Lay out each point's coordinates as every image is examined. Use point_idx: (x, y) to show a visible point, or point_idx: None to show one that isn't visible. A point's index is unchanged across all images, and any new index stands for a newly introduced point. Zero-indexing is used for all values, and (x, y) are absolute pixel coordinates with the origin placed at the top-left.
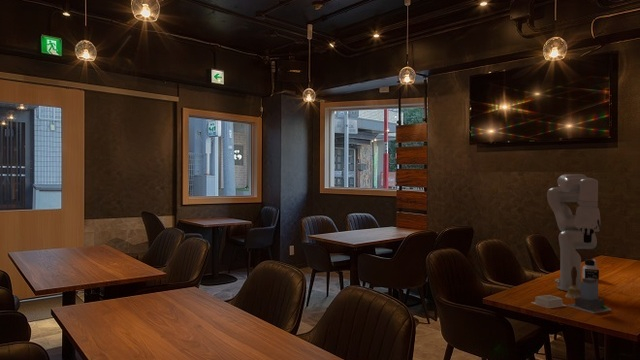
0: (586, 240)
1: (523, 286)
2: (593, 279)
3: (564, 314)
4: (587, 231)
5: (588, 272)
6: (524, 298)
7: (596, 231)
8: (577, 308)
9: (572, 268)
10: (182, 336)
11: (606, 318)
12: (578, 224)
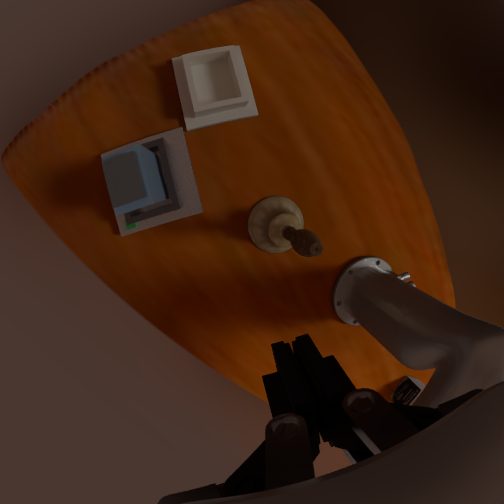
0: (279, 355)
1: (414, 175)
2: (110, 191)
3: (128, 80)
4: (305, 448)
5: (411, 391)
6: (300, 72)
7: (175, 495)
8: (149, 137)
9: (314, 238)
10: None
11: (78, 174)
12: (496, 428)
